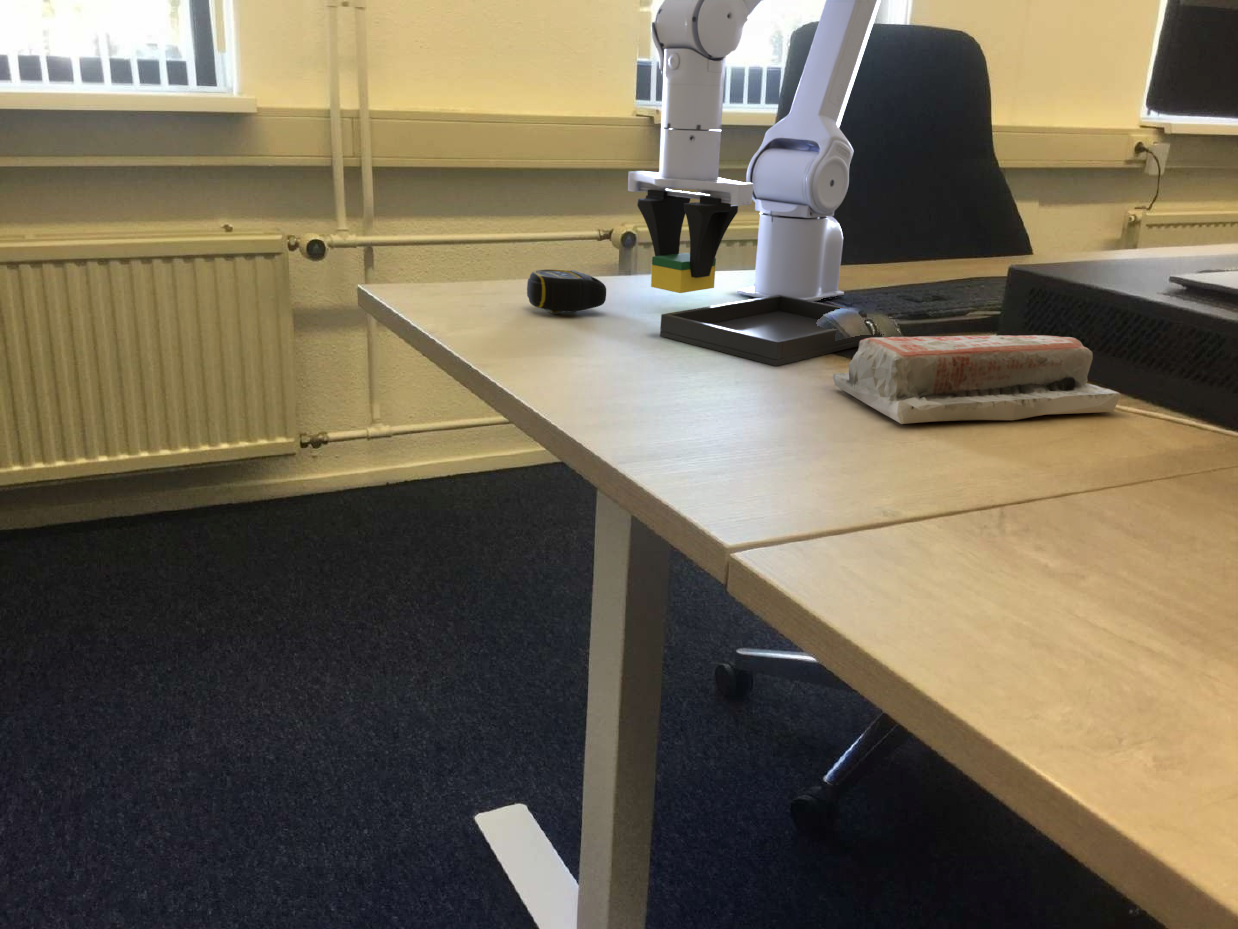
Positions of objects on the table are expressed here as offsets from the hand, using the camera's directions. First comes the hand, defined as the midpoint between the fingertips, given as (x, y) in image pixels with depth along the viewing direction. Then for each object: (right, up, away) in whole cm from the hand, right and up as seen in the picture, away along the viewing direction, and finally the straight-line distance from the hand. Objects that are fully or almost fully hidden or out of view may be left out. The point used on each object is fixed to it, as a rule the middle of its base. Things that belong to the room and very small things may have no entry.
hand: (683, 273), depth 103 cm
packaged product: (+20, -14, -26) cm, 36 cm away
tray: (+8, -7, -8) cm, 14 cm away
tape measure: (-12, -4, 0) cm, 12 cm away
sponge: (0, -1, 0) cm, 1 cm away
